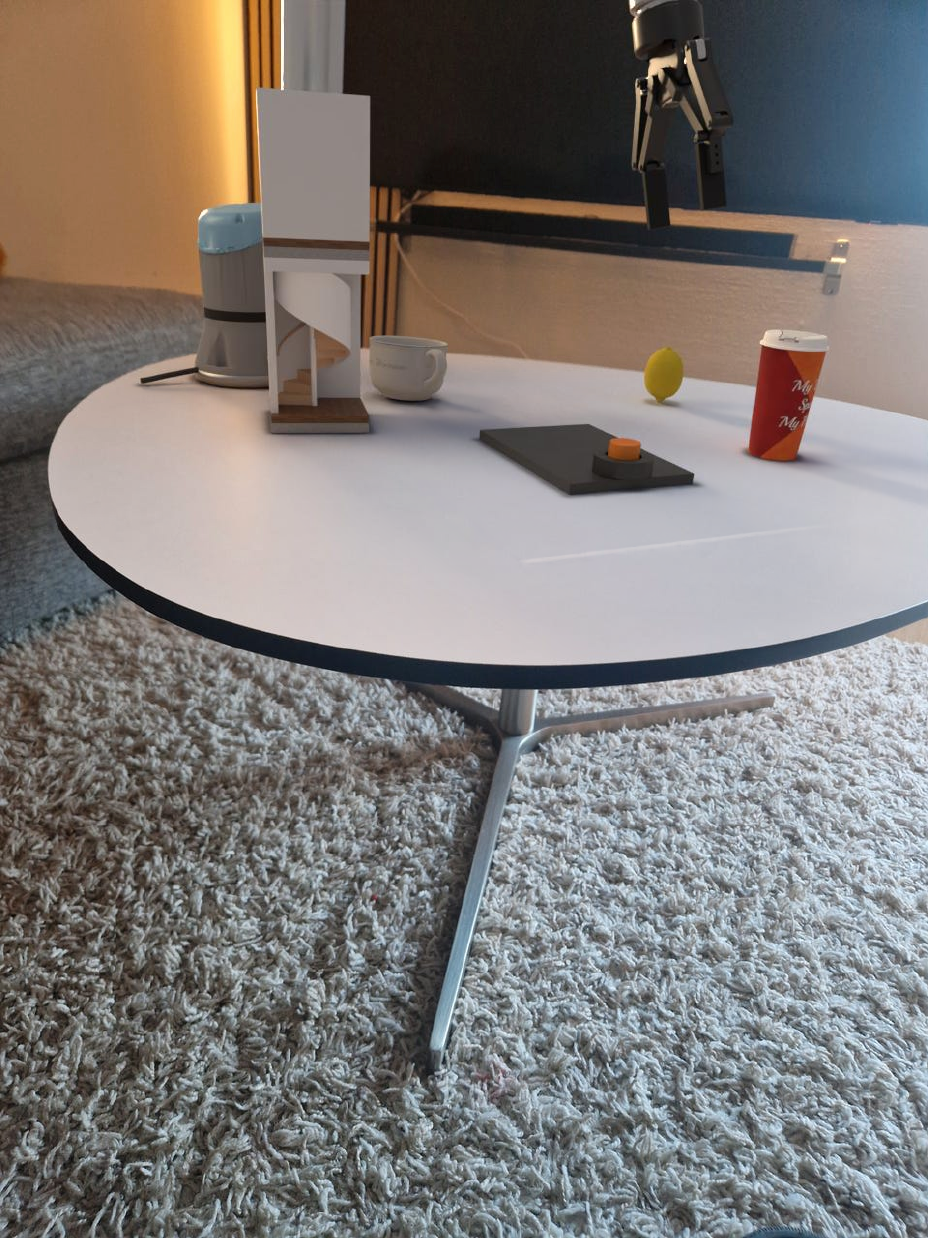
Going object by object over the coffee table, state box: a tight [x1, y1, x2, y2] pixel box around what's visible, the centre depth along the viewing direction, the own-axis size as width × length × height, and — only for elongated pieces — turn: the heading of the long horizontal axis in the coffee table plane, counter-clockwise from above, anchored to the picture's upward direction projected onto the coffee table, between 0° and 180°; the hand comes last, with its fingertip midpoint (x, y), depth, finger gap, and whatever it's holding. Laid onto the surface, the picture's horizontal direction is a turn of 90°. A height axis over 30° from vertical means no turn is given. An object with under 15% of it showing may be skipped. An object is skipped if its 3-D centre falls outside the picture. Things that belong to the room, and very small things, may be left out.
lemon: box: [643, 345, 684, 403], centre depth 130 cm, size 6×6×8 cm
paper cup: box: [748, 329, 831, 462], centre depth 105 cm, size 8×8×14 cm
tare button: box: [608, 437, 642, 460], centre depth 92 cm, size 3×3×2 cm
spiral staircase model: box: [255, 87, 371, 434], centre depth 103 cm, size 11×11×35 cm
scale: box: [478, 423, 695, 496], centre depth 100 cm, size 15×22×3 cm, turn 23°
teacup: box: [368, 335, 449, 402], centre depth 123 cm, size 14×11×8 cm
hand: (684, 219), depth 104 cm, fingers open, 13 cm apart
